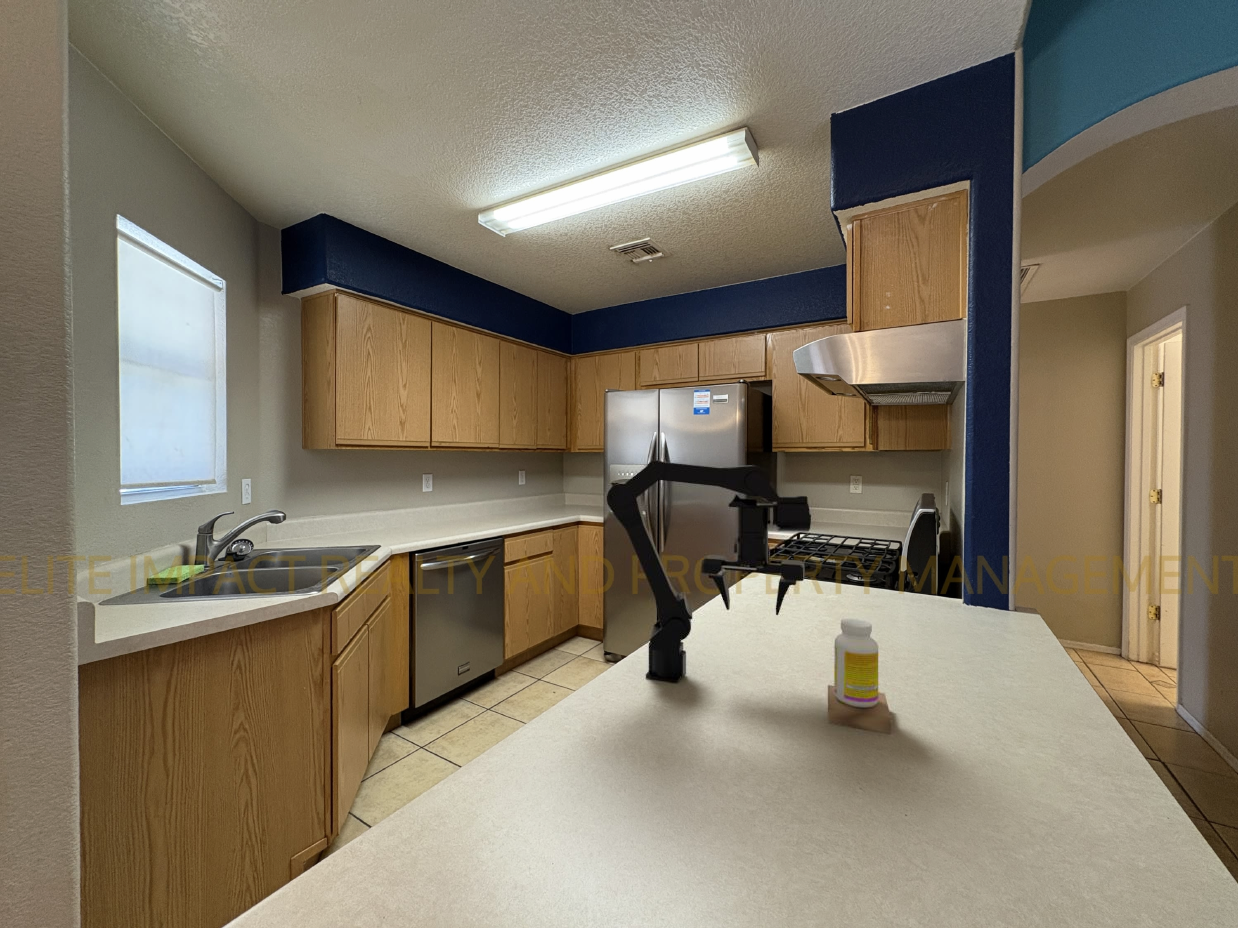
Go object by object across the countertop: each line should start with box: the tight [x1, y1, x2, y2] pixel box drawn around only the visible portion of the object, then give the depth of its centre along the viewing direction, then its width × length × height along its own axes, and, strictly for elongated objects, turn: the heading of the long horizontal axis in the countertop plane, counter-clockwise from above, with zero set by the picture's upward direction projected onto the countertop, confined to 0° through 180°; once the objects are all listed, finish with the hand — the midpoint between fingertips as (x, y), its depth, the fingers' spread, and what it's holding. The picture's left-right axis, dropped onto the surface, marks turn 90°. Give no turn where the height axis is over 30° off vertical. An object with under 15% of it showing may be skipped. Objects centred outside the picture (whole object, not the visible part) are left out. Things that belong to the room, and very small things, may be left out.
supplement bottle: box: [833, 617, 879, 708], centre depth 86 cm, size 7×7×13 cm
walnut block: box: [827, 684, 892, 735], centre depth 86 cm, size 9×9×2 cm
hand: (752, 611), depth 100 cm, fingers open, 9 cm apart
